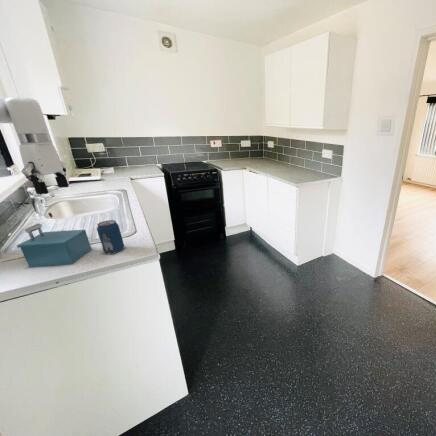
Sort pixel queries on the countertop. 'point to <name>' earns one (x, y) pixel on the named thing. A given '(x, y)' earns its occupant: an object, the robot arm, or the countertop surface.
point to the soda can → (110, 236)
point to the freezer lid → (49, 237)
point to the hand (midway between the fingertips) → (53, 190)
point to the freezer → (57, 252)
